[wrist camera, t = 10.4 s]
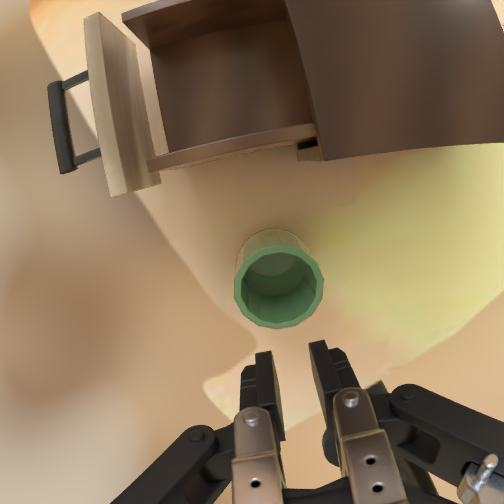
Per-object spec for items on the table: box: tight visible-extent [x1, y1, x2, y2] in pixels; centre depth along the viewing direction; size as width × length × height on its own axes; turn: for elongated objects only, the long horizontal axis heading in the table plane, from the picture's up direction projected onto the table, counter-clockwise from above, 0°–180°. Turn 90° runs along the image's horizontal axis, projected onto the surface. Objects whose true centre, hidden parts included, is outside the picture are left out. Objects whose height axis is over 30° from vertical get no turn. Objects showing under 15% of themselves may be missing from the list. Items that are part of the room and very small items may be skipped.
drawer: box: [47, 0, 317, 198], centre depth 19 cm, size 20×13×7 cm, turn 102°
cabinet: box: [282, 0, 504, 161], centre depth 18 cm, size 17×14×9 cm
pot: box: [234, 229, 324, 329], centre depth 24 cm, size 6×6×6 cm
